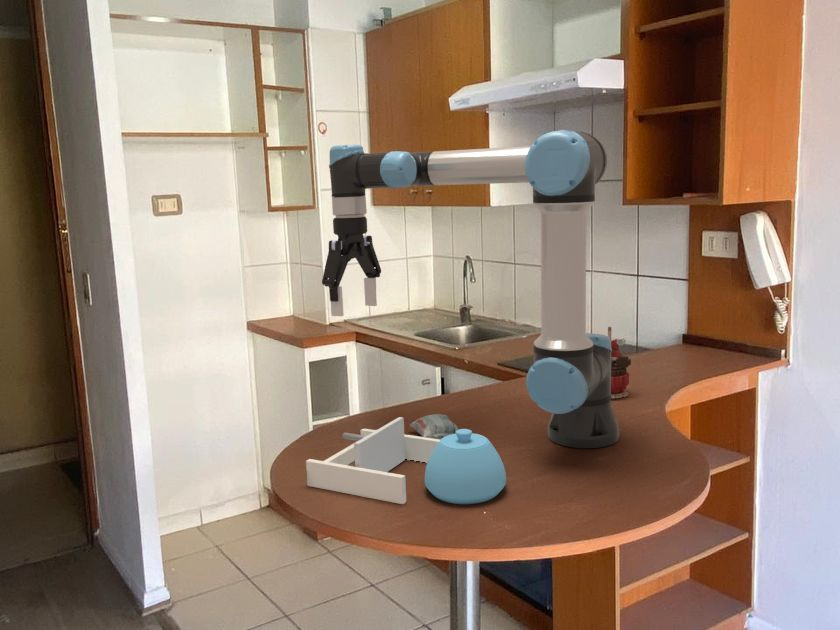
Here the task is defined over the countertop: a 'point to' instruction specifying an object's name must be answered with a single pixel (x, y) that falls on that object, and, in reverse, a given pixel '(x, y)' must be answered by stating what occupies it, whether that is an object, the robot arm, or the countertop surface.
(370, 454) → the pusher
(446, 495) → the sugar bowl
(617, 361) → the cake
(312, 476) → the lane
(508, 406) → the countertop surface
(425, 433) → the packaged food
